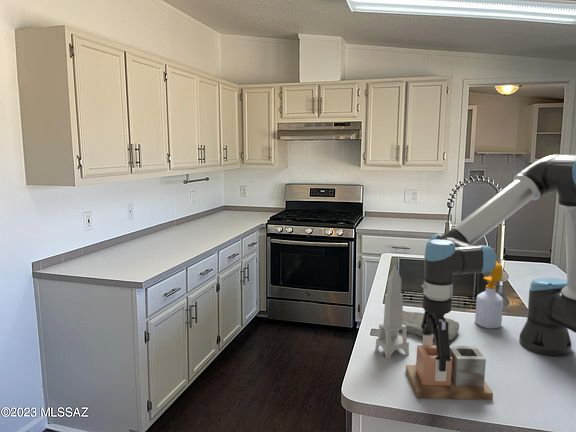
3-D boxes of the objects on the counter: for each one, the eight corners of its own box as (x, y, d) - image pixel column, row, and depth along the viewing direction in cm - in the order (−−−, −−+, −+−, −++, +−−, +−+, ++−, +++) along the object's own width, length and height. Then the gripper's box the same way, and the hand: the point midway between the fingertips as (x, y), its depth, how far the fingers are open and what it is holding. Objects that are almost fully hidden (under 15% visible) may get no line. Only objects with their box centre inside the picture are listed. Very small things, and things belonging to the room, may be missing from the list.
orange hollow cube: (442, 370, 128) (443, 345, 127) (450, 385, 121) (452, 358, 119) (415, 370, 129) (417, 345, 127) (422, 384, 121) (423, 358, 120)
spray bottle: (489, 317, 170) (494, 256, 166) (506, 327, 161) (512, 263, 157) (469, 320, 168) (474, 258, 163) (486, 330, 159) (491, 265, 155)
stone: (462, 320, 158) (449, 335, 146) (461, 332, 159) (449, 348, 147) (395, 305, 173) (378, 317, 161) (394, 315, 174) (378, 328, 162)
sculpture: (375, 349, 146) (377, 262, 140) (396, 345, 149) (399, 259, 143) (386, 358, 139) (389, 268, 134) (408, 354, 142) (412, 265, 137)
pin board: (473, 372, 131) (475, 341, 129) (492, 399, 117) (495, 365, 116) (405, 370, 132) (407, 340, 130) (417, 398, 118) (418, 364, 117)
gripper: (412, 281, 133) (410, 346, 136) (436, 314, 108) (432, 392, 112) (438, 281, 132) (434, 346, 136) (467, 314, 108) (461, 392, 112)
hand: (433, 367), depth 124 cm, fingers open, 13 cm apart
